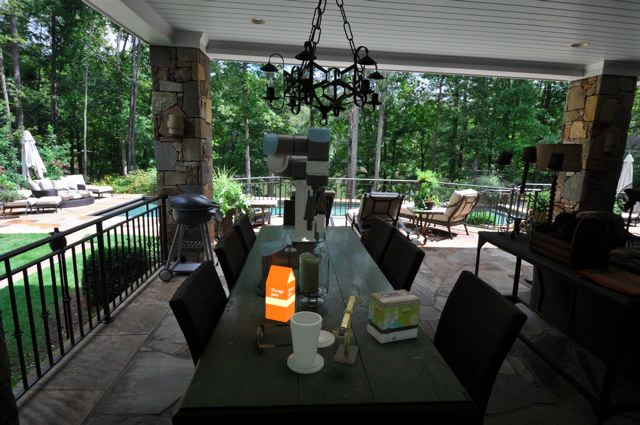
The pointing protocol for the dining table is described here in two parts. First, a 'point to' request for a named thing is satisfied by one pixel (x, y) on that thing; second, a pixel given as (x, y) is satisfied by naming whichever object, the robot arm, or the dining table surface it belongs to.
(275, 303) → the orange juice
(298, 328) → the foam cup
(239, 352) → the dining table surface
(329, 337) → the dish high
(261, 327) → the sunglasses
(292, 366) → the dish low
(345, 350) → the balance
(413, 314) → the tea box
